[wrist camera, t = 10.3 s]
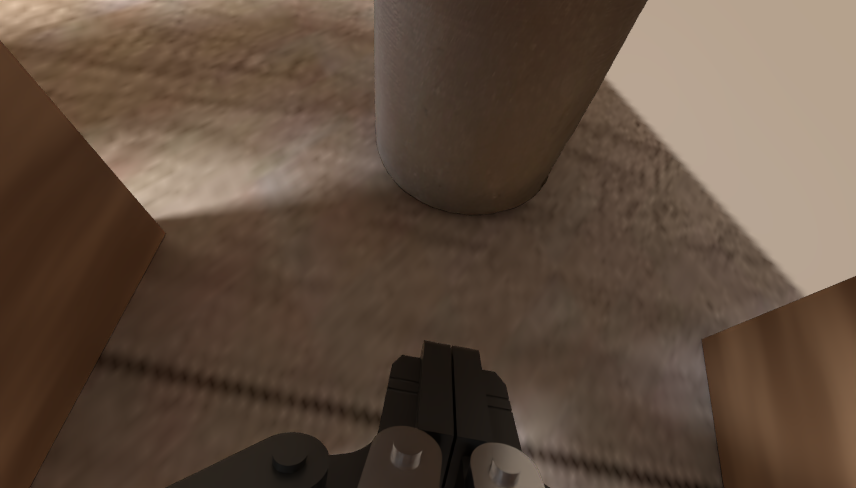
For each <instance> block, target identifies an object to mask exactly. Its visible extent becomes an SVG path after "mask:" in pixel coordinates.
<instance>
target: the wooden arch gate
mask: <svg viewBox="0 0 856 488" xmlns="http://www.w3.org/2000/svg"><path fill="white" fill-rule="evenodd" d="M165 234H166V233H165V232H164V231H163V230H162V228H161V227H160V226H159V225H158V224H157V223H156V221H155V220H154V219H153V218H152V217H151V216H150V214H149V213H148V212H147V211H146V210H145V209H144V207H143V206H142V205H141V204H140V203H139V202H138V200H137V199H136V198H135V197H134V196H133V195H132V194H131V192H130V191H129V190H128V189H127V188H126V187H125V185H124V184H123V183H122V182H121V181H120V180H119V178H118V177H117V176H116V175H115V174H114V173H113V171H112V170H111V169H110V168H109V167H108V166H107V164H106V163H105V162H104V161H103V160H102V159H101V157H100V156H99V155H98V154H97V153H96V152H95V150H94V149H93V148H92V147H91V146H90V145H89V143H88V142H87V141H86V140H85V139H84V138H83V136H82V135H81V134H80V133H79V132H78V131H77V129H76V128H75V127H74V126H73V125H72V124H71V122H70V121H69V120H68V119H67V118H66V117H65V115H64V114H63V113H62V112H61V111H60V110H59V108H58V107H57V106H56V105H55V104H54V103H53V102H52V100H51V99H50V98H49V97H48V96H47V95H46V93H45V92H44V91H43V90H42V89H41V88H40V86H39V85H38V84H37V83H36V82H35V81H34V79H33V78H32V77H31V76H30V75H29V74H28V72H27V71H26V70H25V69H24V68H23V67H22V65H21V64H20V63H19V62H18V61H17V60H16V58H15V57H14V56H13V55H12V54H11V53H10V51H9V50H8V49H7V48H6V47H5V46H4V44H3V43H2V42H1V41H0V488H29V487H30V485H31V484H32V482H33V480H34V478H35V476H36V474H37V472H38V471H39V469H40V467H41V465H42V463H43V461H44V459H45V458H46V456H47V454H48V452H49V450H50V448H51V446H52V444H53V443H54V441H55V439H56V437H57V435H58V433H59V431H60V430H61V428H62V426H63V424H64V422H65V420H66V418H67V417H68V415H69V413H70V411H71V409H72V407H73V405H74V403H75V402H76V400H77V398H78V396H79V394H80V392H81V390H82V389H83V387H84V385H85V383H86V381H87V379H88V377H89V376H90V374H91V372H92V370H93V368H94V366H95V364H96V362H97V361H98V359H99V357H100V355H101V353H102V351H103V349H104V348H105V346H106V344H107V342H108V340H109V338H110V336H111V335H112V333H113V331H114V329H115V327H116V325H117V323H118V322H119V320H120V318H121V316H122V314H123V312H124V310H125V308H126V307H127V305H128V303H129V301H130V299H131V297H132V295H133V294H134V292H135V290H136V288H137V286H138V284H139V282H140V281H141V279H142V277H143V275H144V273H145V271H146V269H147V267H148V266H149V264H150V262H151V260H152V258H153V256H154V254H155V253H156V251H157V249H158V247H159V245H160V243H161V241H162V240H163V238H164V236H165ZM702 345H703V352H704V358H705V365H706V372H707V378H708V385H709V392H710V398H711V405H712V412H713V418H714V425H715V432H716V439H717V445H718V452H719V459H720V465H721V472H722V479H723V485H724V488H856V276H855V277H852V278H850V279H847V280H845V281H842V282H840V283H838V284H835V285H833V286H830V287H828V288H825V289H823V290H821V291H818V292H816V293H813V294H811V295H808V296H806V297H804V298H801V299H799V300H796V301H794V302H791V303H789V304H786V305H784V306H782V307H779V308H777V309H774V310H772V311H769V312H767V313H765V314H762V315H760V316H757V317H755V318H752V319H750V320H748V321H745V322H743V323H740V324H738V325H735V326H733V327H731V328H728V329H726V330H723V331H721V332H718V333H716V334H714V335H711V336H709V337H706V338H704V339H702Z"/></svg>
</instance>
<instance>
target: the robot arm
mask: <svg viewBox="0 0 856 488" xmlns="http://www.w3.org/2000/svg"><path fill="white" fill-rule="evenodd" d="M511 410H512V409H511V405H510V401H509V397H508V393H507V388H506V385H505V384H504V382H503V381H502V380H501V379H500V377H499V376H498V375H497V374H496V372H492V371H486V370H482V367H481V361H480V354H479V351H478V350H474V349H469V348H463V347H458V346H453V345H452V347H451V346H450V345H447V344H441V343H436V342H431V341H425V340H424V343H423V347H422V352H421V357H420V358H416V357H410V356H405V355H402V356H401V357H400V358H398V359H397V360H396V361H395V362H394V363H393V364H392V368H391V373H390V378H389V383H388V387H387V392H386V397H385V402H384V407H383V412H382V416H381V421H380V426H379V431H378V434H377V435H376V437H375V438H374V440H373V441H372V442H371V443H370V444H369V445H368V446H366V447H364V448H363V449H360V450H358V451H355V452H352V453H346V454H337V455H329V454H328V451H327V449H326V447H325V446H324V445H323V444H322V443H321V442H320V441H319V440H318V439H316V438H314V437H312V436H310V435H307V434H303V433H296V432H290V433H281V434H277V435H274V436H271V437H269V438H267V439H265V440H263V441H261V442H259V443H257V444H255V445H252V446H250V447H248V448H246V449H244V450H242V451H240V452H238V453H236V454H234V455H232V456H230V457H228V458H226V459H224V460H222V461H220V462H218V463H216V464H213V465H211V466H209V467H207V468H205V469H203V470H201V471H199V472H197V473H195V474H193V475H191V476H189V477H187V478H185V479H183V480H181V481H179V482H176V483H174V484H172V485H170V486H168V487H166V488H550V487H548V486H546V485H545V484H544V483H543V481H542V478H541V475H540V473H539V470H538V468H537V467H536V465H535V464H534V462H533V461H532V460H531V459H530V458H529V457H528V456H527V455H525V454H524V453H523V452H522V451H521V447H520V443H519V438H518V434H517V430H516V426H515V422H514V418H513V413H512V412H511Z"/></svg>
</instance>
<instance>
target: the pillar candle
mask: <svg viewBox="0 0 856 488" xmlns="http://www.w3.org/2000/svg"><path fill="white" fill-rule="evenodd" d="M647 1H648V0H374V69H375V117H376V120H375V129H376V143H377V148H378V151H379V154H380V157H381V160H382V162H383V165H384V166H385V168H386V170H387V172H388V173H389V174H390V176H391V177H392V178H393V180H394V181H395V182H396V183H397V184H398V185H399V186H400V187H401V188H402V189H403V190H404V191H406V192H407V193H408V194H410V195H412V196H414V197H415V198H416V199H418V200H419V201H421V202H423V203H425V204H427V205H429V206H431V207H434V208H438V209H441V210H444V211H448V212H452V213H460V214H467V215H480V214H492V213H496V212H500V211H503V210H507V209H511V208H514V207H517V206H519V205H521V204H523V203H525V202H526V201H528V200H530V199H531V198H532V197H534V196H535V195H536V194H537V192H538V191H540V190H541V188H542V187H543V185H544V184H545V182H546V181H547V178H548V174H549V173H550V171H551V169H552V167H553V165H554V164H555V162H556V160H557V159H558V157H559V155H560V153H561V151H562V150H563V148H564V146H565V144H566V143H567V141H568V140H569V138H570V137H571V135H572V134H573V133H574V131H575V129H576V127H577V125H578V123H579V121H580V120H581V118H582V116H583V115H584V113H585V111H586V109H587V108H588V106H589V104H590V102H591V101H592V99H593V97H594V96H595V94H596V92H597V91H598V89H599V87H600V85H601V83H602V81H603V80H604V78H605V76H606V74H607V72H608V71H609V69H610V67H611V65H612V63H613V61H614V59H615V58H616V56H617V54H618V52H619V50H620V49H621V47H622V45H623V44H624V42H625V40H626V38H627V36H628V34H629V32H630V30H631V29H632V27H633V25H634V23H635V22H636V20H637V18H638V16H639V14H640V13H641V11H642V9H643V8H644V6H645V4H646V2H647Z"/></svg>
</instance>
